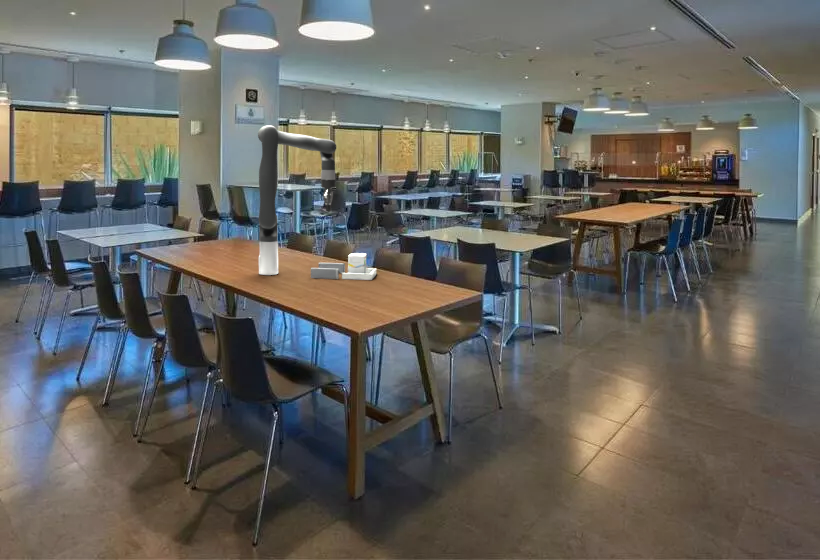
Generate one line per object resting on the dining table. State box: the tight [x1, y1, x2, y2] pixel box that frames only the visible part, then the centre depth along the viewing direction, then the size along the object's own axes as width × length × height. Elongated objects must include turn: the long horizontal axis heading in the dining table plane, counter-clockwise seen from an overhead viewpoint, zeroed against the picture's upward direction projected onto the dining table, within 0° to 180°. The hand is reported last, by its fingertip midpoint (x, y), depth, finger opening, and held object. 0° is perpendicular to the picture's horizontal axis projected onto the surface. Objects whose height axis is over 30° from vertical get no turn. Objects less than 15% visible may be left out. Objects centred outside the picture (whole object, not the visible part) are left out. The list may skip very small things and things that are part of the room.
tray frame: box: [341, 267, 377, 281], centre depth 313 cm, size 15×16×3 cm
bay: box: [310, 262, 346, 280], centre depth 314 cm, size 14×18×5 cm
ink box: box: [347, 252, 367, 274], centre depth 312 cm, size 8×8×12 cm
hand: (328, 211), depth 322 cm, fingers closed
